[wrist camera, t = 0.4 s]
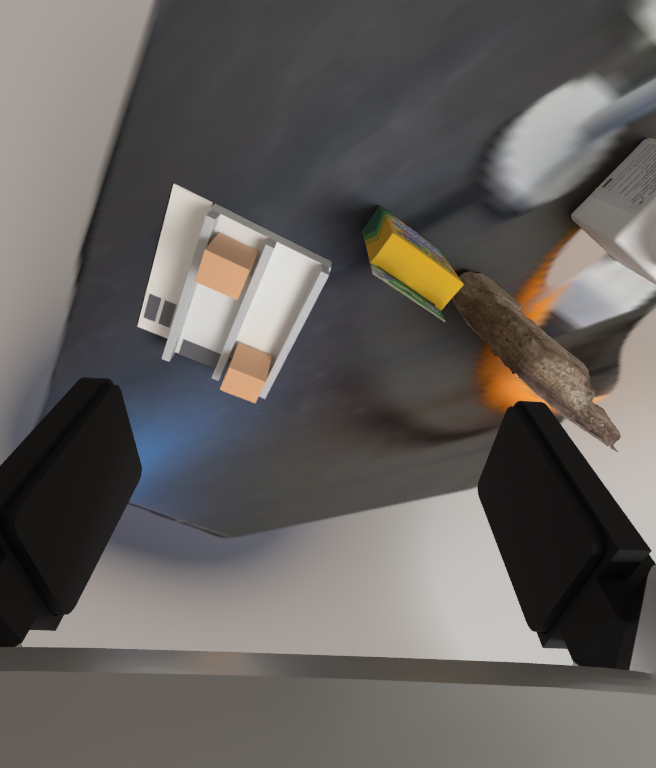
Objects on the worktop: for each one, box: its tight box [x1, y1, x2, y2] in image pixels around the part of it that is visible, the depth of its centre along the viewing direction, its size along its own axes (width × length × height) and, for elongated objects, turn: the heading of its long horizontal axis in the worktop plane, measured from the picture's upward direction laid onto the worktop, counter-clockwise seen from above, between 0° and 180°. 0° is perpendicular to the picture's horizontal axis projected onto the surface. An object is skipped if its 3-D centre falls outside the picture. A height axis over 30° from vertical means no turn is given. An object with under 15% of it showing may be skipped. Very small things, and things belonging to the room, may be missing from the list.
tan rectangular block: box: [195, 233, 258, 300], centre depth 36 cm, size 3×4×5 cm
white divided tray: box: [137, 183, 331, 399], centre depth 41 cm, size 16×16×4 cm
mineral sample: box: [451, 271, 620, 452], centre depth 38 cm, size 17×4×15 cm, turn 53°
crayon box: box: [362, 206, 464, 322], centre depth 35 cm, size 7×3×12 cm, turn 57°
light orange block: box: [220, 343, 272, 403], centre depth 43 cm, size 3×4×5 cm
